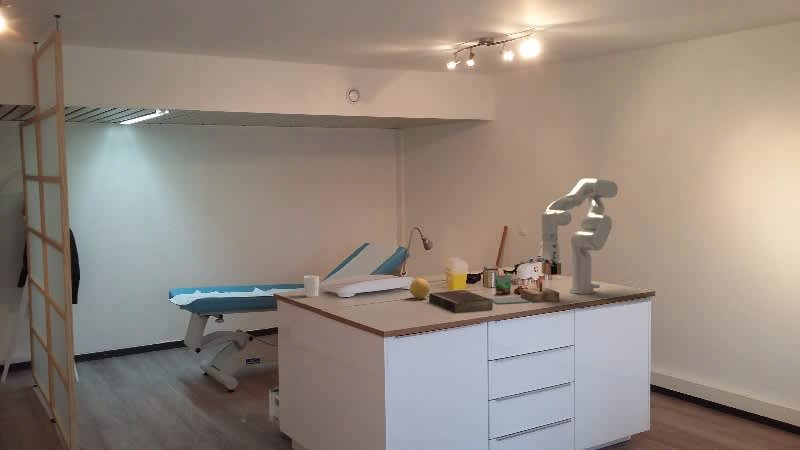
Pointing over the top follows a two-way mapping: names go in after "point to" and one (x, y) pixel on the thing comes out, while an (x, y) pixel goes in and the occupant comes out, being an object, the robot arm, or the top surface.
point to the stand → (539, 294)
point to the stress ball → (419, 288)
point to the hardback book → (461, 301)
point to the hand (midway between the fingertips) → (550, 272)
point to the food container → (503, 284)
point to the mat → (509, 300)
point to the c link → (547, 268)
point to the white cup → (311, 286)
